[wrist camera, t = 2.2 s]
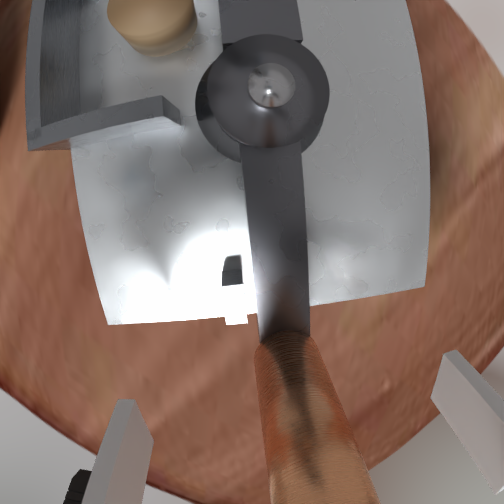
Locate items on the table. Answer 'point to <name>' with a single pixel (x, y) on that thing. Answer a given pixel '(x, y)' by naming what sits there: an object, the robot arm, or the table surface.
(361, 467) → the lever
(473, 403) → the robot arm
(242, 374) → the table surface
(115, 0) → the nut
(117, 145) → the grey flat slab fixture
